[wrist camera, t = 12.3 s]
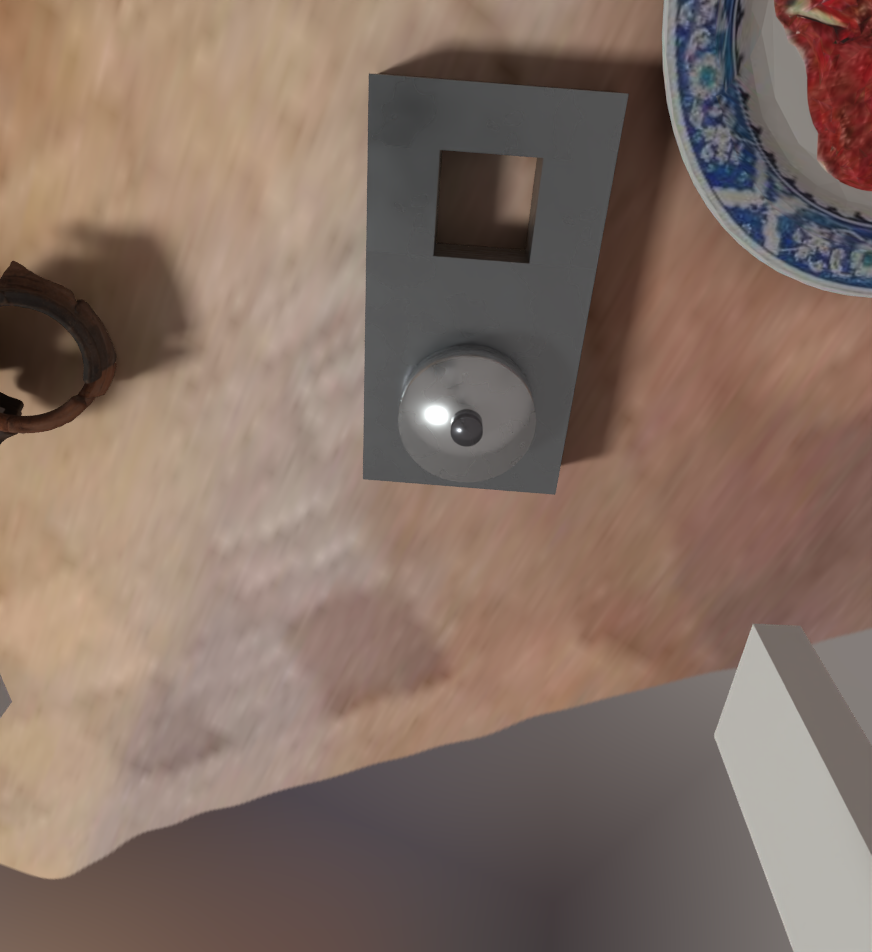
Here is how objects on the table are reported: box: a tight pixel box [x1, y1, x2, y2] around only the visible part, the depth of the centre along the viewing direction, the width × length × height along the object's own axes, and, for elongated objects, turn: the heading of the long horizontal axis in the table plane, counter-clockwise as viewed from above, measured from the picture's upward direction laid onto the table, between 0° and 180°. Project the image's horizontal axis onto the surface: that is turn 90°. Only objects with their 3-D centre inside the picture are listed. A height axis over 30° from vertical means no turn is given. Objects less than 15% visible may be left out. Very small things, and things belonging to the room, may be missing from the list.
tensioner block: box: [363, 74, 628, 494], centre depth 34 cm, size 20×11×6 cm, turn 176°
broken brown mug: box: [0, 261, 116, 444], centre depth 37 cm, size 12×10×8 cm
